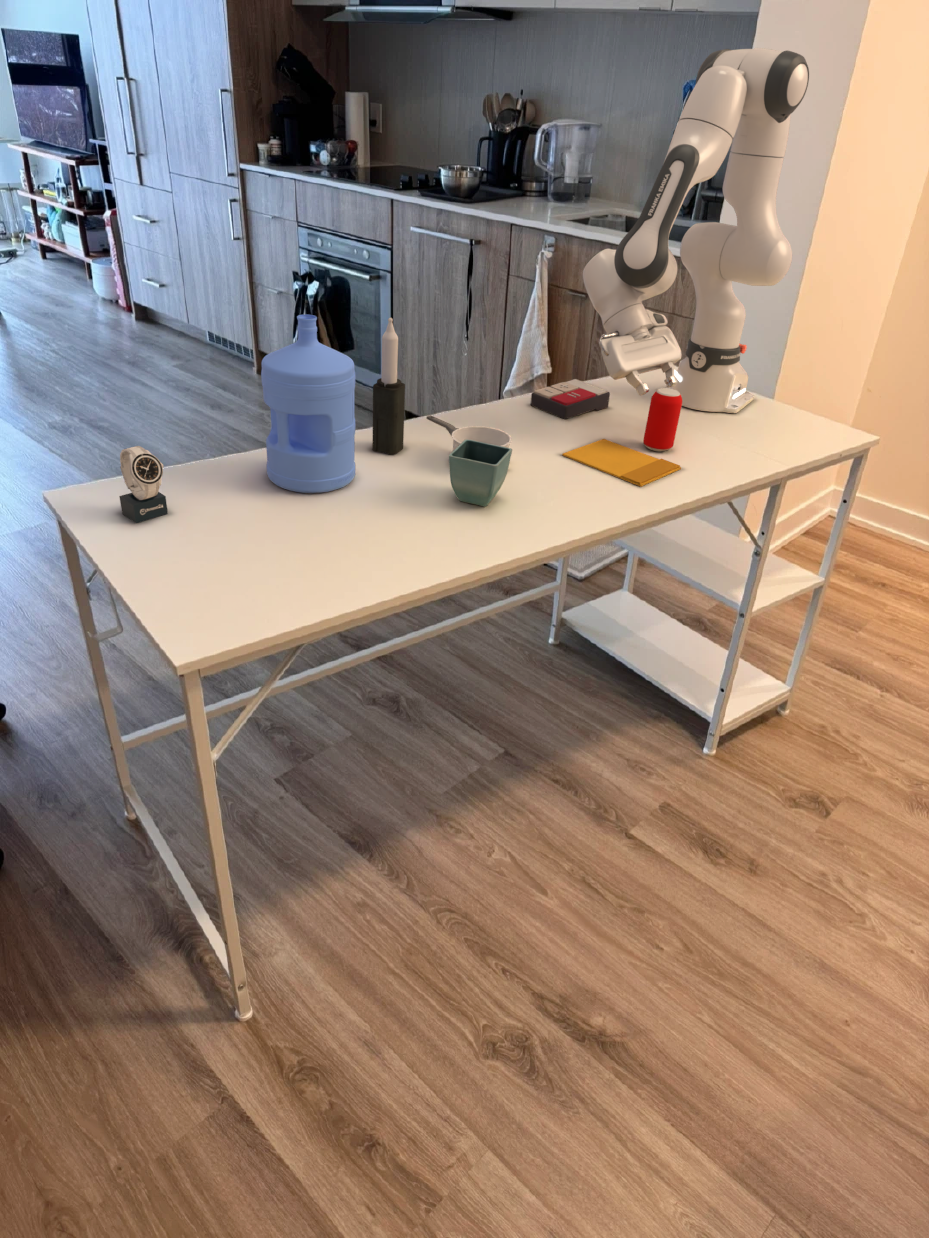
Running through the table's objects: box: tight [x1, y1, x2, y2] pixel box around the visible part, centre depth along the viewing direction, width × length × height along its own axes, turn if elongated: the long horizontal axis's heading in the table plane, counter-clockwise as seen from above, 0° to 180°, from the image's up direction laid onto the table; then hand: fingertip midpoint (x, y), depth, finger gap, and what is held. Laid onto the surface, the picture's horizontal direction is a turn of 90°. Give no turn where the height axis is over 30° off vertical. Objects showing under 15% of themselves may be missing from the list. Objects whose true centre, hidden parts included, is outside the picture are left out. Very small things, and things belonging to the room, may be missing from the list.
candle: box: [371, 317, 406, 456], centre depth 162 cm, size 5×5×25 cm
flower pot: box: [448, 439, 513, 507], centre depth 149 cm, size 9×9×9 cm
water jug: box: [260, 313, 356, 494], centre depth 147 cm, size 16×16×28 cm
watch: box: [119, 445, 169, 524], centre depth 135 cm, size 6×8×11 cm
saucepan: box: [425, 414, 513, 452], centre depth 166 cm, size 12×20×6 cm, turn 47°
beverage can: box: [642, 387, 683, 452], centre depth 176 cm, size 6×6×12 cm
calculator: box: [530, 378, 611, 420], centre depth 197 cm, size 11×4×15 cm
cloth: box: [561, 438, 682, 488], centre depth 171 cm, size 14×19×1 cm
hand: (659, 389), depth 175 cm, fingers open, 8 cm apart
